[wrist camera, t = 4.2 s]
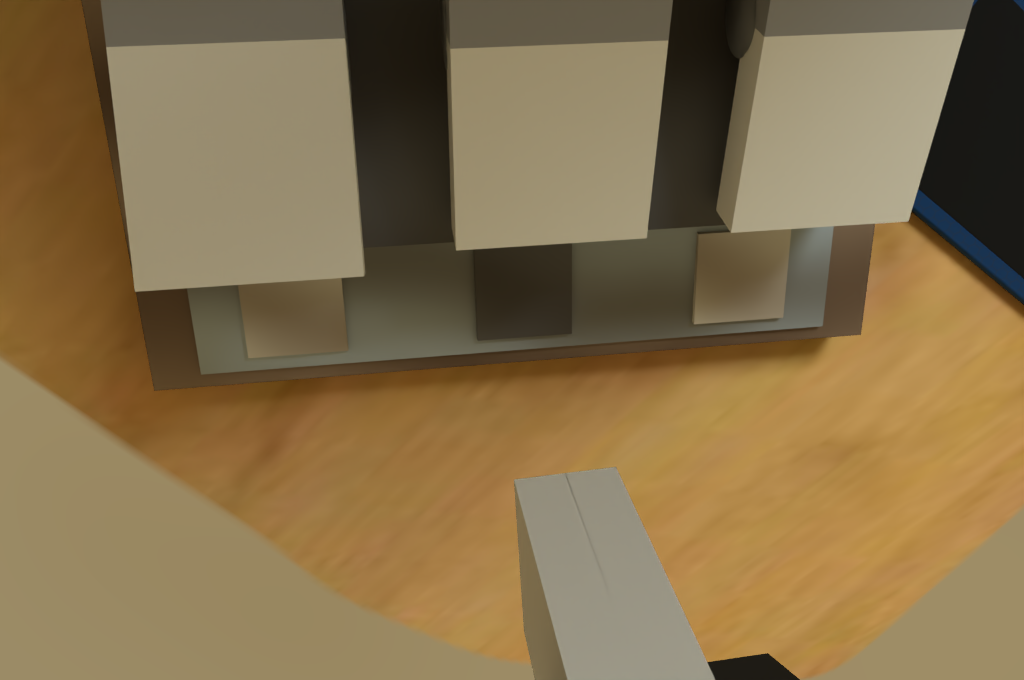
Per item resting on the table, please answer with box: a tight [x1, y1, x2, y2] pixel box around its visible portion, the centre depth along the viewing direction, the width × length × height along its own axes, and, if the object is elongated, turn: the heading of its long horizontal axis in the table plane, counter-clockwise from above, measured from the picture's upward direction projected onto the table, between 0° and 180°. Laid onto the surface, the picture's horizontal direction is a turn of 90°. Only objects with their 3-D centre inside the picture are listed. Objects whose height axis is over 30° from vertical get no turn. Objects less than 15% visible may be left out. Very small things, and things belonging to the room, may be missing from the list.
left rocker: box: [101, 0, 365, 292], centre depth 21 cm, size 10×5×3 cm, turn 1°
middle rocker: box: [440, 0, 673, 251], centre depth 21 cm, size 10×5×3 cm, turn 2°
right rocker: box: [716, 0, 974, 233], centre depth 22 cm, size 10×5×3 cm, turn 2°
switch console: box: [81, 0, 875, 391], centre depth 26 cm, size 16×23×5 cm
